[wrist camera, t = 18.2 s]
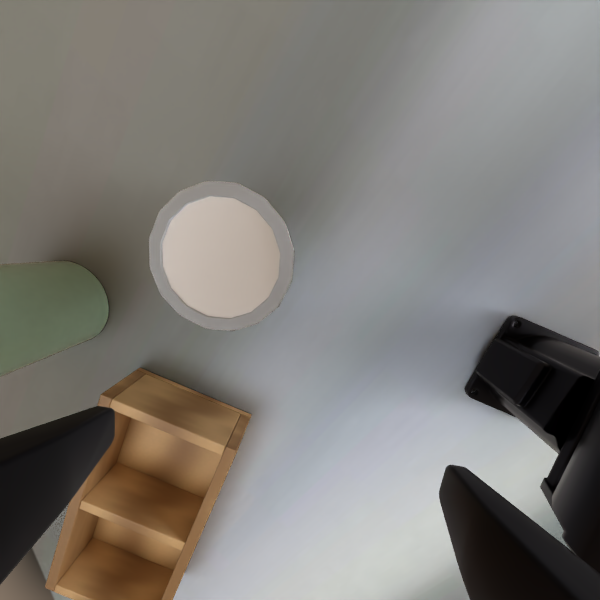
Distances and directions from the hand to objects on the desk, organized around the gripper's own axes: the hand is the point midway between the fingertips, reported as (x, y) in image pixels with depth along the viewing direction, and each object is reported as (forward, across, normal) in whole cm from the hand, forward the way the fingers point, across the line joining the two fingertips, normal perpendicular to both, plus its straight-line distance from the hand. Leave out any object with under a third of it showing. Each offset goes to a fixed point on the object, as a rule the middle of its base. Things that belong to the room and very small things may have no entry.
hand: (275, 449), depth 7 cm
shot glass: (+13, +4, -4) cm, 14 cm away
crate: (+13, +10, +16) cm, 23 cm away
